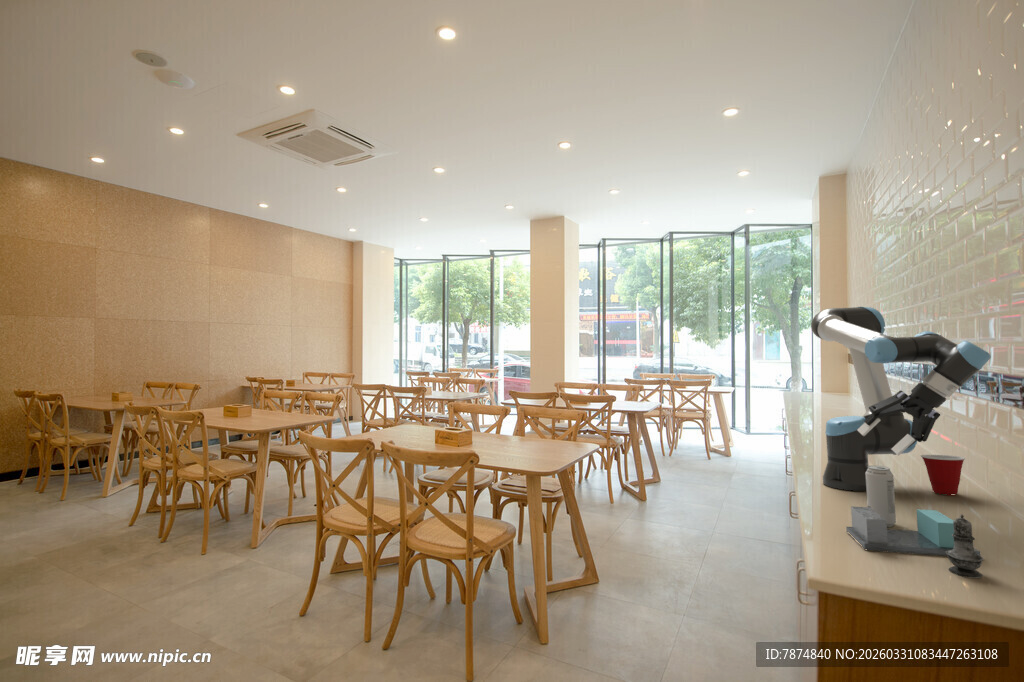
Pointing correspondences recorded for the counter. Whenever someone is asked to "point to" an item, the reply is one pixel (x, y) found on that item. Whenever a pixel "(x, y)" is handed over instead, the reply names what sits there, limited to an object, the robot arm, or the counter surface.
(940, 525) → the sliding jaw
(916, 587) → the counter surface
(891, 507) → the energy drink can
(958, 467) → the plastic cup
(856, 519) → the grey base stand
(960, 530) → the salt shaker
